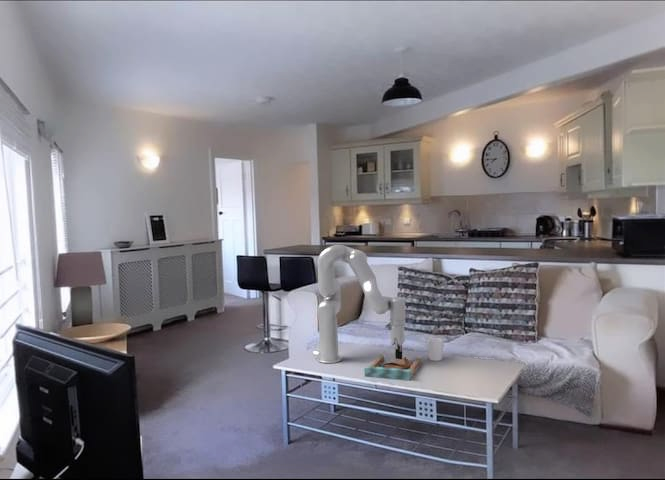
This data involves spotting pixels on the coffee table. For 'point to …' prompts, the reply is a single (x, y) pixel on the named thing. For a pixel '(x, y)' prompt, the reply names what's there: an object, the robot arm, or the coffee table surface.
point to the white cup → (435, 348)
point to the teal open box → (390, 370)
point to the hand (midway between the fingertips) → (399, 358)
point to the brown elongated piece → (399, 364)
